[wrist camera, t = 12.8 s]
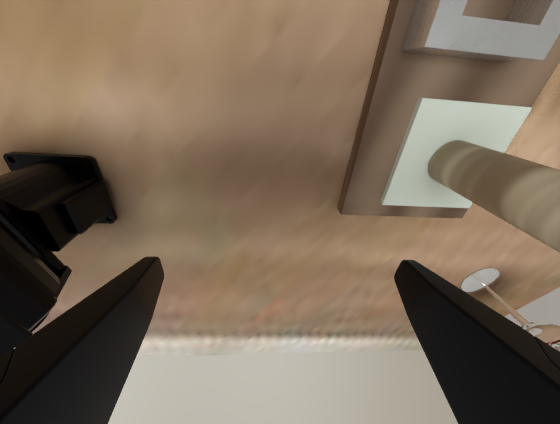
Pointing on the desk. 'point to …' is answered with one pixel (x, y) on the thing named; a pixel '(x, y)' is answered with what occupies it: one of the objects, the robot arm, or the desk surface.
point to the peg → (503, 187)
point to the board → (427, 84)
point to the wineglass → (483, 279)
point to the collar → (484, 31)
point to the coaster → (437, 132)
